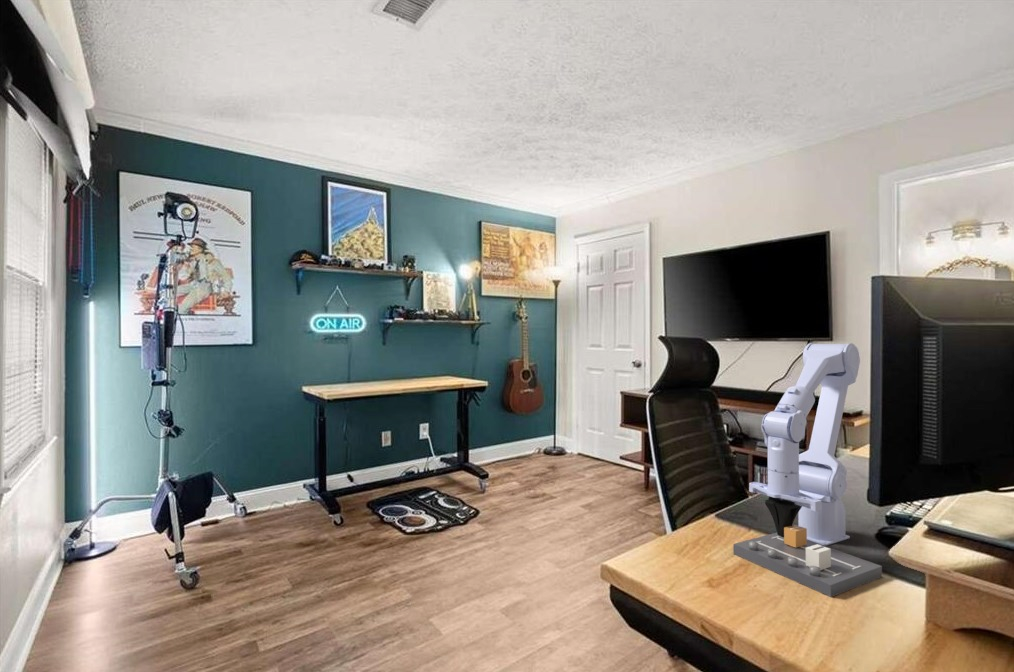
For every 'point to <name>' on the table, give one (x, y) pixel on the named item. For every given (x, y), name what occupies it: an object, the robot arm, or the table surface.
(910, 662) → the table surface
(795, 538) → the fader
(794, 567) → the mixer board
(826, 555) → the fader
